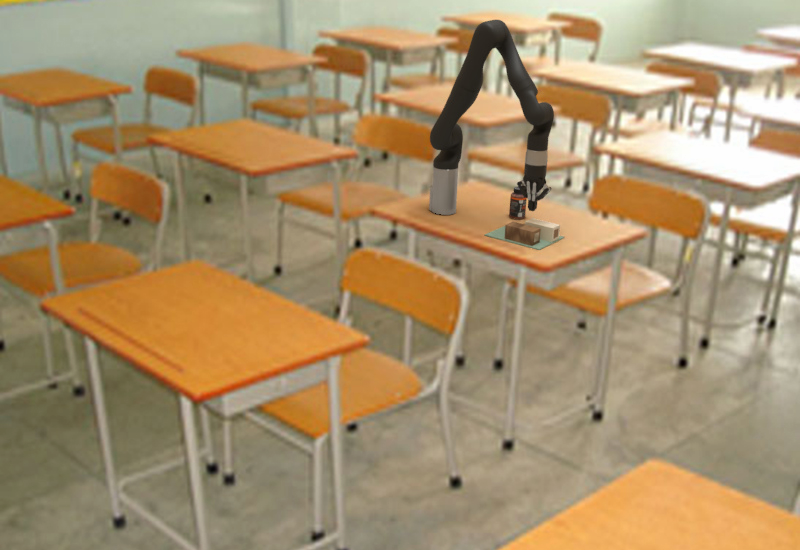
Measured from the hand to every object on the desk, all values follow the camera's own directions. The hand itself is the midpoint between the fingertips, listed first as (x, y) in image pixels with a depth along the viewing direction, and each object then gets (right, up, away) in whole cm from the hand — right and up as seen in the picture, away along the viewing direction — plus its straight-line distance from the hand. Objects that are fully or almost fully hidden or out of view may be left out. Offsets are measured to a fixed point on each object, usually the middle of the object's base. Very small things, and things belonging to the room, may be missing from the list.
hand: (532, 210), depth 340 cm
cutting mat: (-3, -9, +1) cm, 10 cm away
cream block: (-1, -5, +3) cm, 6 cm away
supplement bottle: (-3, -1, +22) cm, 22 cm away
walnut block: (-8, -7, -1) cm, 11 cm away
